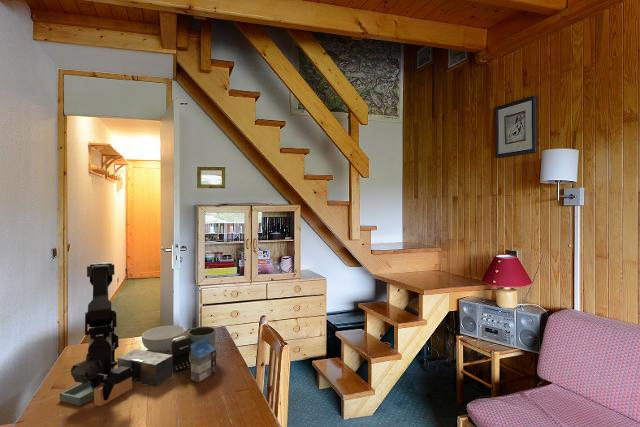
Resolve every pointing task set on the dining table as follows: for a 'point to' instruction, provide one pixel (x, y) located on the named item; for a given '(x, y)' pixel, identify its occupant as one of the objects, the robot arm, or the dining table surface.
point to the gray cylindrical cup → (202, 335)
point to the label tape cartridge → (202, 360)
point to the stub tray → (78, 394)
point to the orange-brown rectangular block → (115, 392)
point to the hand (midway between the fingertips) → (102, 399)
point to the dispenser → (148, 366)
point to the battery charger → (180, 353)
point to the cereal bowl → (161, 337)
